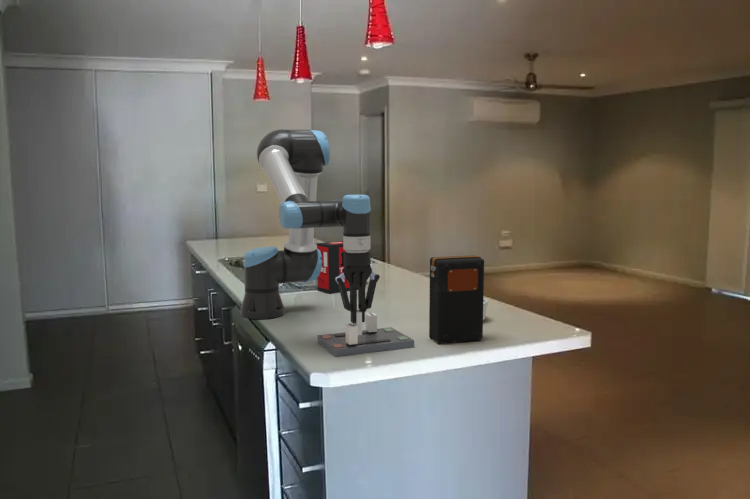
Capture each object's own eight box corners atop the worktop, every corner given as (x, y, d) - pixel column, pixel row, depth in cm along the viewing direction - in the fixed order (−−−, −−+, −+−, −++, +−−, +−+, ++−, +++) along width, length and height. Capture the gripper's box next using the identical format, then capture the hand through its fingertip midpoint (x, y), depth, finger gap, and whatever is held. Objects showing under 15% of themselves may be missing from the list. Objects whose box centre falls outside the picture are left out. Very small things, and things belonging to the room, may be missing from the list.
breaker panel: (317, 342, 188) (317, 334, 187) (391, 333, 197) (391, 326, 197) (335, 356, 173) (335, 349, 173) (414, 347, 182) (414, 339, 182)
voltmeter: (473, 334, 196) (475, 254, 193) (486, 341, 188) (488, 258, 185) (426, 338, 192) (427, 256, 188) (437, 345, 184) (438, 260, 180)
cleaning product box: (349, 286, 275) (349, 240, 272) (362, 289, 268) (361, 242, 265) (317, 290, 264) (317, 243, 262) (329, 294, 258) (329, 245, 255)
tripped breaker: (345, 341, 179) (345, 323, 178) (353, 340, 180) (353, 323, 179) (349, 344, 176) (349, 326, 175) (357, 343, 177) (357, 325, 176)
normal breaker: (365, 329, 192) (365, 313, 191) (373, 329, 193) (373, 312, 192) (369, 332, 189) (369, 315, 188) (377, 331, 190) (376, 314, 189)
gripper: (339, 254, 169) (340, 340, 172) (384, 251, 174) (384, 334, 177) (330, 250, 176) (331, 333, 179) (373, 247, 181) (374, 328, 184)
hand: (357, 333), depth 178 cm, fingers closed
